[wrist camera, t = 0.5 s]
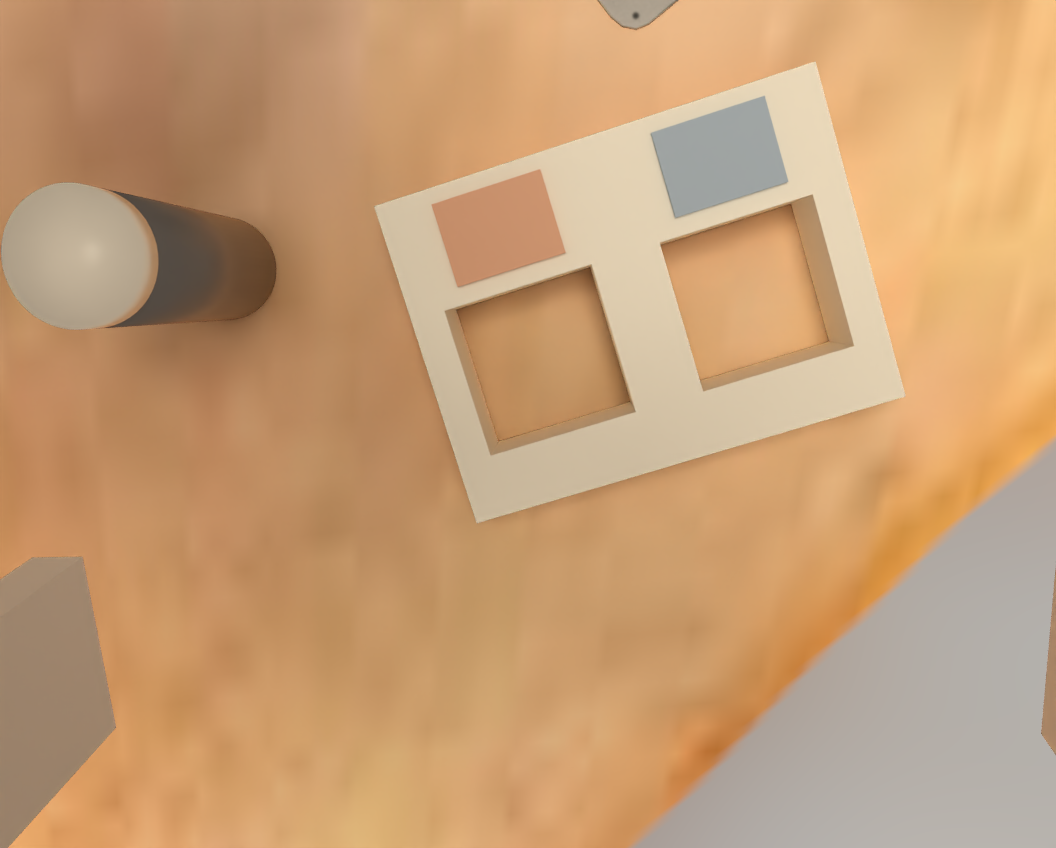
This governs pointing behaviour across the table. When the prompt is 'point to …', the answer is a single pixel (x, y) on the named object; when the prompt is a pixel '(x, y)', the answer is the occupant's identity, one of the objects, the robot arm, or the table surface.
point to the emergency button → (635, 11)
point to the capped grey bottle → (131, 260)
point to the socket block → (644, 285)
